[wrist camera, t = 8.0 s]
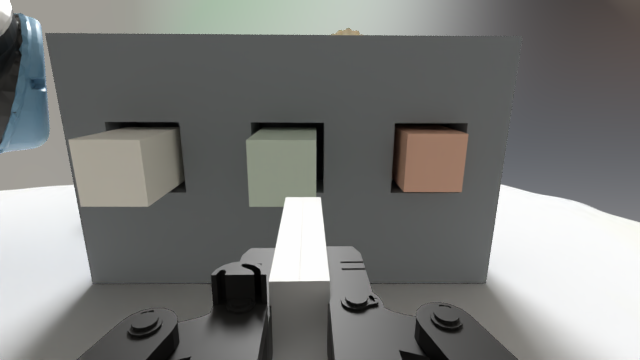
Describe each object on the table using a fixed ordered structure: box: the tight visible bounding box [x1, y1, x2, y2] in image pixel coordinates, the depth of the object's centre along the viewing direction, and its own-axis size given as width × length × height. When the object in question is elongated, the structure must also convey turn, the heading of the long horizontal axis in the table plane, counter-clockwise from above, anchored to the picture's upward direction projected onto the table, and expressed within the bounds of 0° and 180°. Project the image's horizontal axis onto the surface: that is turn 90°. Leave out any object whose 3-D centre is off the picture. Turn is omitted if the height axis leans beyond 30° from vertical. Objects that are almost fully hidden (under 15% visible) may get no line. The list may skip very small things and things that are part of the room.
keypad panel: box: [45, 33, 522, 284], centre depth 31 cm, size 34×8×20 cm, turn 91°
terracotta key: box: [392, 124, 468, 192], centre depth 29 cm, size 4×7×4 cm, turn 1°
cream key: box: [68, 127, 185, 207], centre depth 25 cm, size 4×7×4 cm, turn 1°
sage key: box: [246, 127, 316, 207], centre depth 25 cm, size 4×7×4 cm, turn 1°
